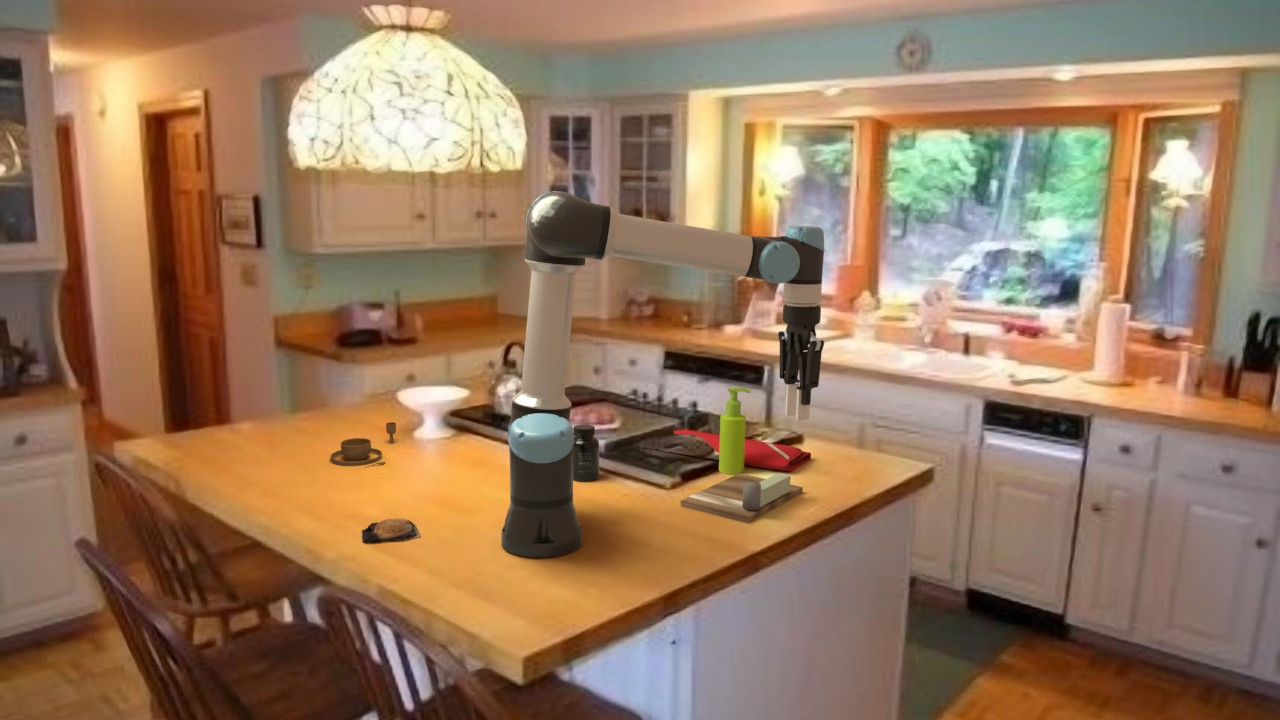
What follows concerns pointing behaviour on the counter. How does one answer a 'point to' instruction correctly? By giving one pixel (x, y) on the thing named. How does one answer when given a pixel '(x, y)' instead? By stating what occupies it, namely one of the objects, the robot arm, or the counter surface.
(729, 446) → the soap dispenser
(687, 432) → the dish drying mat
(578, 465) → the supplement bottle
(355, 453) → the place setting
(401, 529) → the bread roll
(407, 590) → the counter surface
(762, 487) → the sharpening stone
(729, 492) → the walnut board
